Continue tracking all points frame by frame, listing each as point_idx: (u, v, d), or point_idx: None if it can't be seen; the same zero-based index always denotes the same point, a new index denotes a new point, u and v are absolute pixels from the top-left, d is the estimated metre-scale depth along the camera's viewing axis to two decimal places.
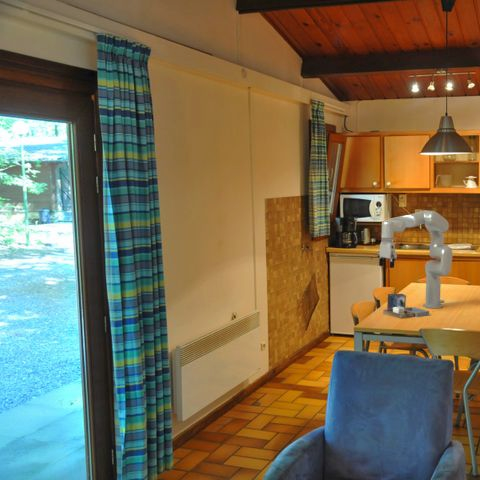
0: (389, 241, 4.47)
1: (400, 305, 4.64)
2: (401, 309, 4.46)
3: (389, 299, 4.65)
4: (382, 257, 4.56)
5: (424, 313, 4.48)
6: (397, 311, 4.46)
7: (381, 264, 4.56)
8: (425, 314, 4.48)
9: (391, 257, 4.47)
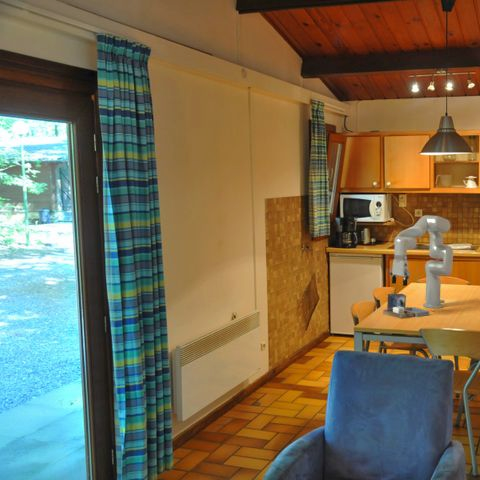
0: (402, 259, 4.41)
1: (400, 305, 4.64)
2: (401, 309, 4.46)
3: (389, 299, 4.65)
4: (395, 275, 4.51)
5: (424, 313, 4.48)
6: (397, 311, 4.46)
7: (394, 282, 4.50)
8: (425, 314, 4.48)
9: (404, 275, 4.42)
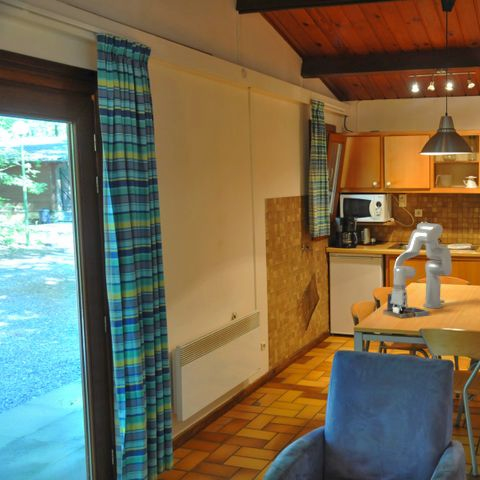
0: (401, 288, 4.43)
1: None
2: None
3: (389, 299, 4.65)
4: (396, 305, 4.51)
5: (424, 313, 4.48)
6: (397, 311, 4.46)
7: None
8: (425, 314, 4.48)
9: (402, 305, 4.45)
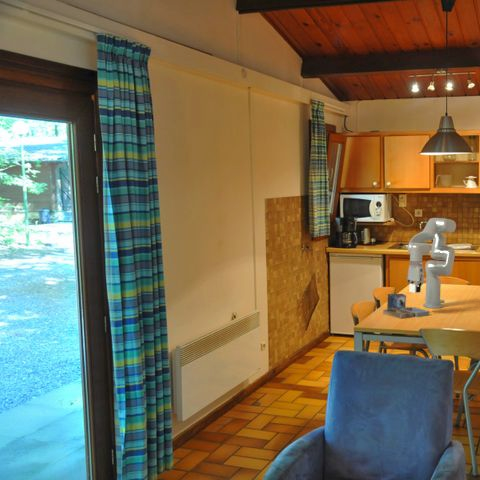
0: (418, 264, 4.46)
1: (400, 305, 4.64)
2: None
3: (389, 299, 4.65)
4: (412, 282, 4.54)
5: (424, 313, 4.48)
6: (414, 287, 4.49)
7: None
8: (425, 314, 4.48)
9: (418, 282, 4.48)
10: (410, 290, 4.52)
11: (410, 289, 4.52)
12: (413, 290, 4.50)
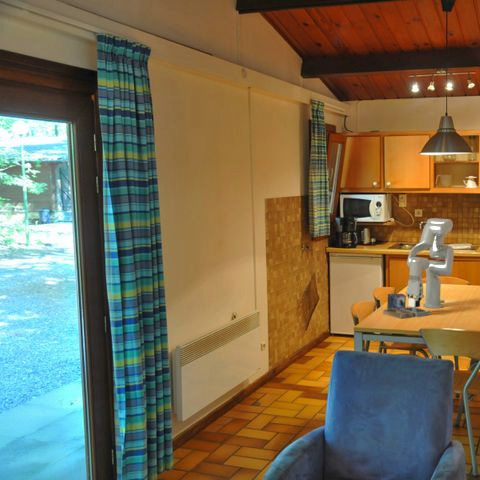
0: (417, 279, 4.47)
1: (400, 305, 4.64)
2: None
3: (389, 299, 4.65)
4: (411, 296, 4.55)
5: (424, 313, 4.48)
6: (413, 302, 4.50)
7: None
8: (425, 314, 4.48)
9: (418, 296, 4.49)
10: (409, 304, 4.53)
11: (409, 303, 4.53)
12: (412, 304, 4.50)
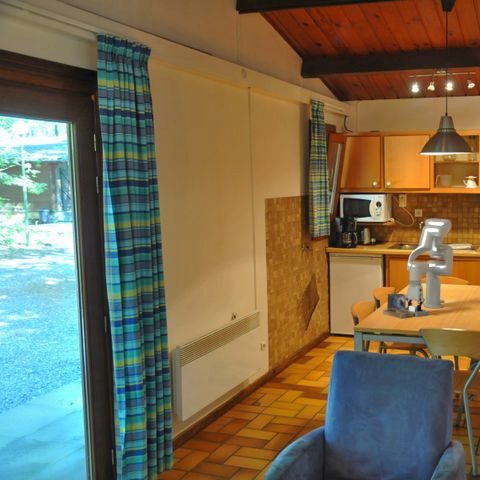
0: (417, 284, 4.48)
1: (400, 305, 4.64)
2: None
3: (389, 299, 4.65)
4: (410, 300, 4.57)
5: (424, 313, 4.48)
6: (413, 310, 4.51)
7: None
8: (425, 314, 4.48)
9: (419, 300, 4.49)
10: None
11: None
12: None
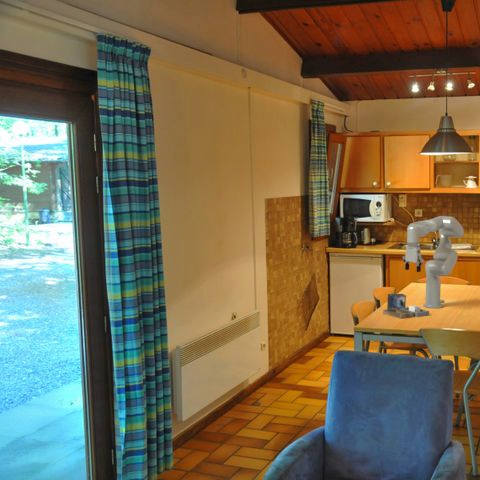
0: (415, 246, 4.54)
1: (400, 305, 4.64)
2: (417, 308, 4.51)
3: (389, 299, 4.65)
4: (408, 261, 4.63)
5: (424, 313, 4.48)
6: (413, 310, 4.51)
7: (407, 268, 4.63)
8: (425, 314, 4.48)
9: (417, 261, 4.55)
10: None
11: None
12: None
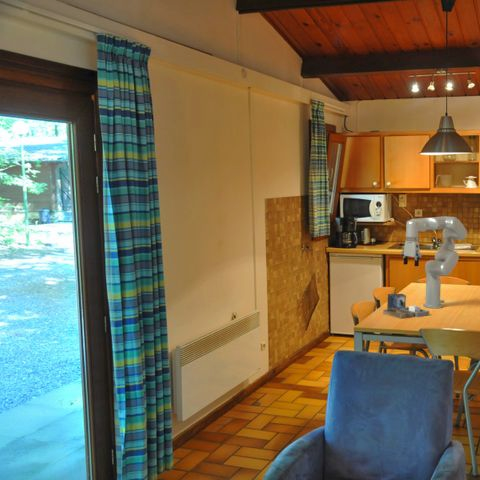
0: (414, 240, 4.56)
1: (400, 305, 4.64)
2: (417, 308, 4.51)
3: (389, 299, 4.65)
4: (406, 256, 4.66)
5: (424, 313, 4.48)
6: (413, 310, 4.51)
7: (405, 263, 4.65)
8: (425, 314, 4.48)
9: (416, 256, 4.57)
10: None
11: None
12: None
